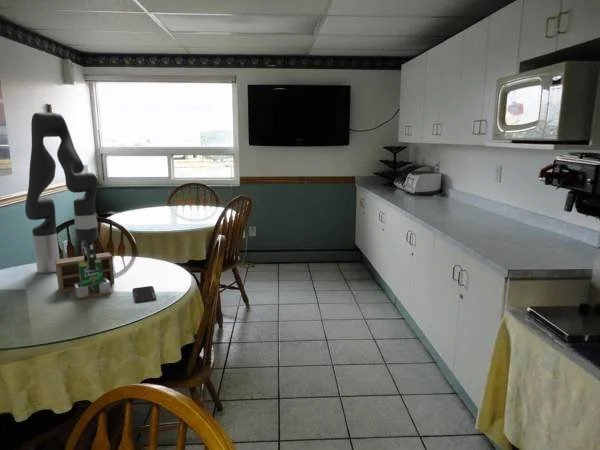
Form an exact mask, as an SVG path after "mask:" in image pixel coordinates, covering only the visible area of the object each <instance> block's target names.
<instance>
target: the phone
mask: <svg viewBox="0 0 600 450" xmlns="http://www.w3.org/2000/svg"><path fill="white" fill-rule="evenodd" d="M132 295H133V301H134V303H135V304H139V303H147V302H154V301H156V300H157V295H156V293H155V289H154V286H153V285H149V286H141V287H134V288H132Z"/></svg>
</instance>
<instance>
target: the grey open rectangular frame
mask: <svg viewBox="0 0 600 450" xmlns="http://www.w3.org/2000/svg"><path fill="white" fill-rule="evenodd" d="M103 282H104V283H99V291H100V294H102V293H107V292H111V293H112V290H111V284H110V282H109V281H108V280H107V278H103ZM74 289H75V294H76V296H77V298H81V297H86V296H89V292H88V286H82V287H81V285H80V283H74Z"/></svg>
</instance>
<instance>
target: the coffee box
mask: <svg viewBox="0 0 600 450" xmlns="http://www.w3.org/2000/svg"><path fill="white" fill-rule="evenodd" d="M77 263H78V270H79V278H80V285H81V287H82V286H88V292H89V294H91V293H96V292H100V291H99V283H104V282H103V274H102V266H101V259H100V258H97V259H96V260H95V266H96V269H95V270H92V271H90V270H89V263H88V260H85V261H79V262H77Z"/></svg>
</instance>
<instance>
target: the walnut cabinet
mask: <svg viewBox="0 0 600 450" xmlns="http://www.w3.org/2000/svg"><path fill="white" fill-rule="evenodd" d="M90 257H93V255H90ZM96 258H100V259H101V266H102V274H103V278H107V280H108V281H109V282H110V285H113V284H115V276H114V275H115V274H114V264H113V255H112V254H111V253H110V252H109V251H108V252H103V253H96ZM79 261H84V255H82V256H74V257H68V258H60V260H55V263H56V272H55V273H56V279H57V280H56V281H57V286H58V287H57V288H58V291H59V293H61V294H64V293H69V292H72V293H73V295H74V297H75V298H76V300H77V301H82V300H87V299H94V298H98V297H103V296H107V295H112V291H111V292H107V293H102V294H100V292H96V293H91V294H89V296H86V297H81V298H77V296H76V294H75V289H74V283H80V278H79V270H78V263H77V262H79Z"/></svg>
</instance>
